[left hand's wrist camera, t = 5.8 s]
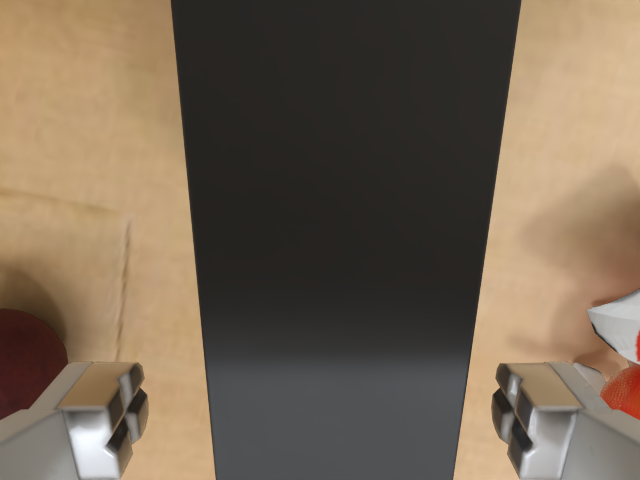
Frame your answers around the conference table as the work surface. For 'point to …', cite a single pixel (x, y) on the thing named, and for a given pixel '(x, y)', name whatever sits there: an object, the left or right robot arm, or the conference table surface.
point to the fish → (626, 339)
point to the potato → (26, 360)
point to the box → (340, 224)
